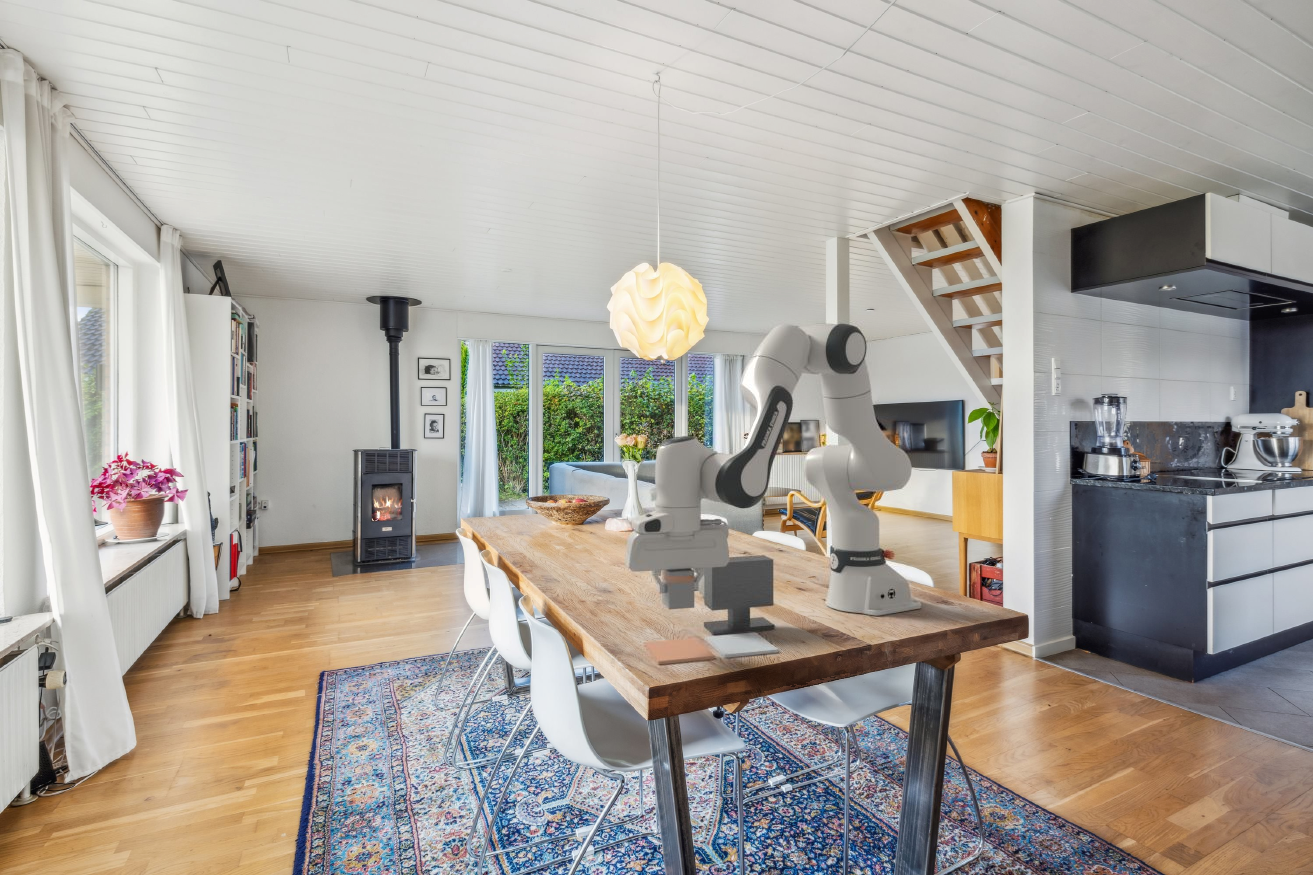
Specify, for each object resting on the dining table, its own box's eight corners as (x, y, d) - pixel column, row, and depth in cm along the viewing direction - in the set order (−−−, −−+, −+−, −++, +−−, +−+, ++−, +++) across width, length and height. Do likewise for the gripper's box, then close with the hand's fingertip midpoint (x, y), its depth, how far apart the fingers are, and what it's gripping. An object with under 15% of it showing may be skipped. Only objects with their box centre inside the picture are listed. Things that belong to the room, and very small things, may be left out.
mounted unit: (763, 621, 147) (762, 554, 147) (774, 629, 141) (774, 559, 141) (703, 626, 144) (703, 558, 143) (713, 634, 138) (712, 563, 137)
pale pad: (755, 635, 137) (755, 632, 137) (778, 652, 127) (778, 649, 127) (705, 639, 135) (705, 636, 135) (724, 657, 124) (724, 654, 124)
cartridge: (686, 601, 130) (686, 565, 130) (694, 607, 125) (694, 570, 125) (662, 602, 129) (662, 567, 129) (669, 609, 124) (669, 572, 124)
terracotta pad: (696, 640, 134) (696, 637, 134) (714, 658, 124) (714, 655, 124) (644, 645, 131) (644, 642, 131) (658, 664, 121) (658, 661, 121)
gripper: (722, 516, 133) (722, 584, 133) (623, 520, 127) (623, 591, 128) (734, 520, 127) (734, 591, 127) (630, 524, 121) (630, 599, 121)
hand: (678, 591), depth 127 cm, fingers closed on cartridge, 5 cm apart
